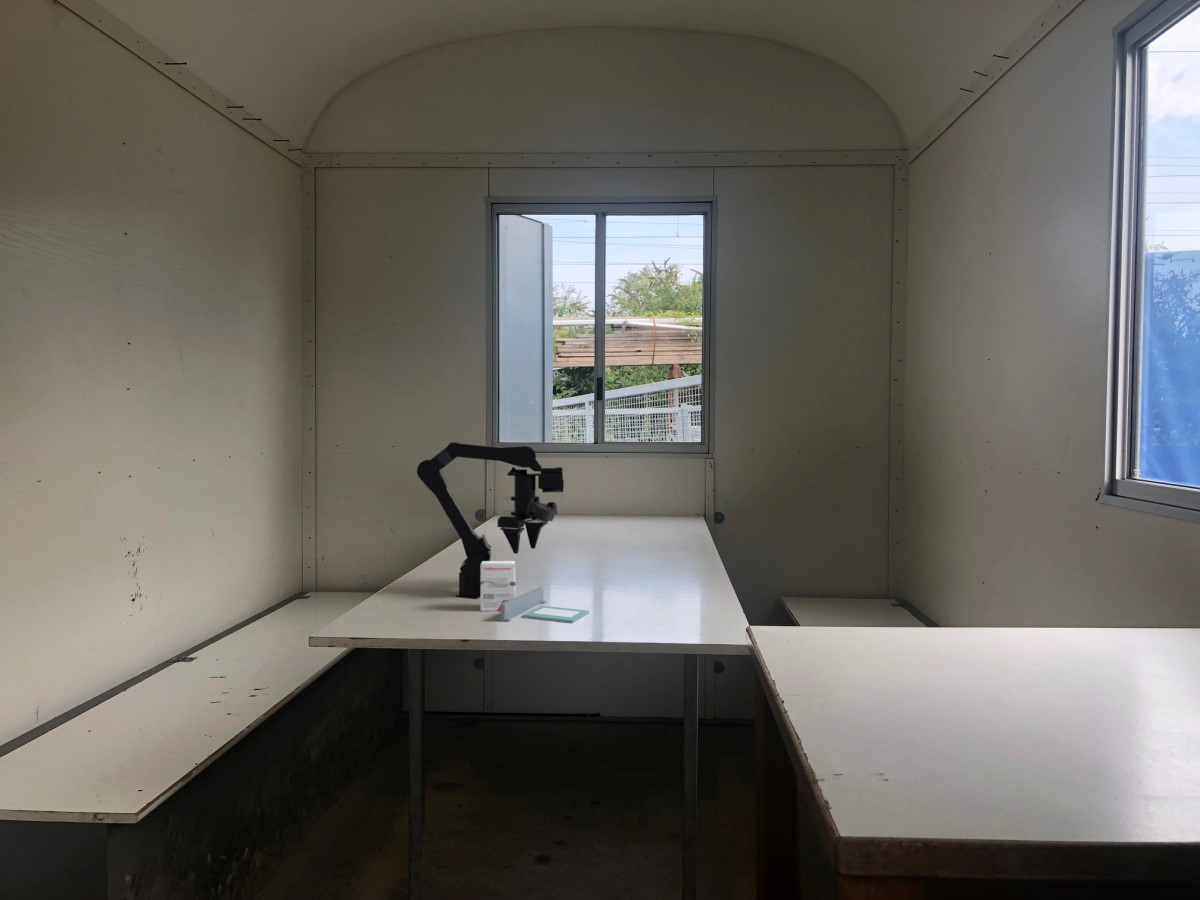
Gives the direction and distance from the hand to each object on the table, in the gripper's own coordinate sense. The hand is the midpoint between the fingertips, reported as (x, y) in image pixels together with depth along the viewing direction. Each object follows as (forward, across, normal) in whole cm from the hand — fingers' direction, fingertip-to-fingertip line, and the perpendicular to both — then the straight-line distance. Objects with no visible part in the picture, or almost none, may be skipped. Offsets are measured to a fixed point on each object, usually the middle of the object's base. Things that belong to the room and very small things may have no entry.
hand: (524, 550), depth 200 cm
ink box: (+12, -16, -1) cm, 20 cm away
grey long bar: (+12, -15, -8) cm, 21 cm away
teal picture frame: (+12, -15, -17) cm, 26 cm away
